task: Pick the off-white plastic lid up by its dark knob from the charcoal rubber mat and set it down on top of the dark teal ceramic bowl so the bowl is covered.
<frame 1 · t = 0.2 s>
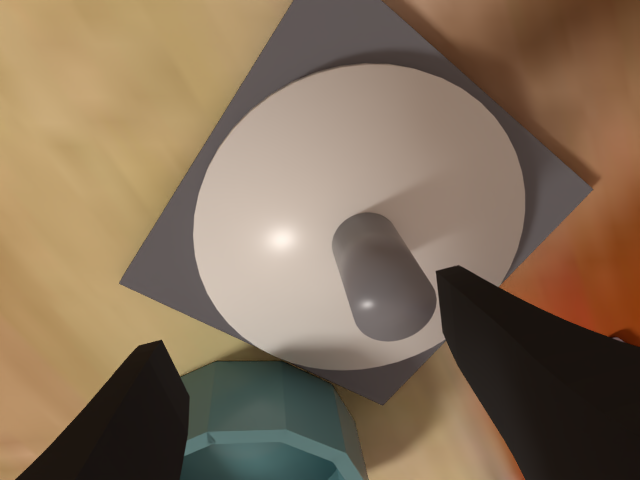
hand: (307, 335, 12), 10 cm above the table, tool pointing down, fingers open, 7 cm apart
bowl: (245, 445, 27), on the table
lid: (375, 266, 18), on the mat
mat: (359, 230, 21), on the table
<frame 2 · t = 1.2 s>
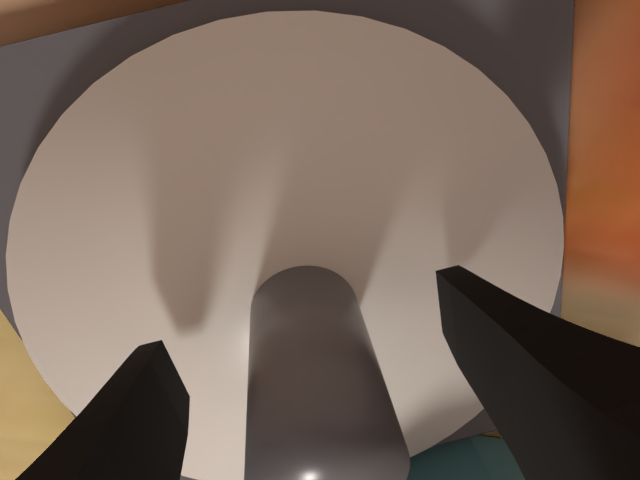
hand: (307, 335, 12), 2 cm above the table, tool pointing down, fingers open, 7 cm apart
lid: (312, 364, 11), on the mat
mat: (300, 287, 14), on the table
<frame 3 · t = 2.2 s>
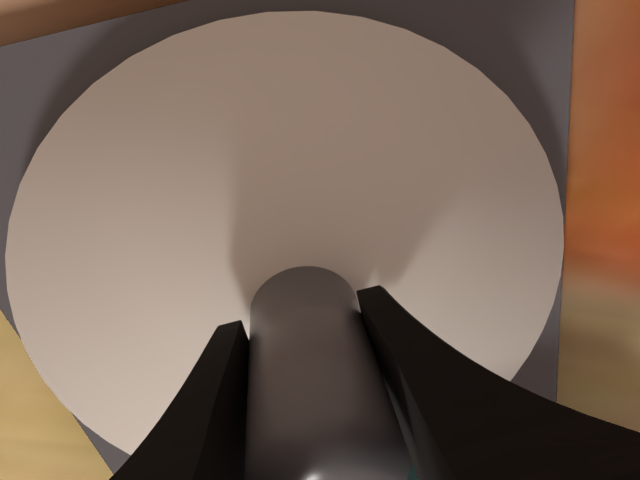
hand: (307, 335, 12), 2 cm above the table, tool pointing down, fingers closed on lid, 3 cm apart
lid: (312, 365, 11), on the mat, touching gripper
mat: (300, 287, 14), on the table
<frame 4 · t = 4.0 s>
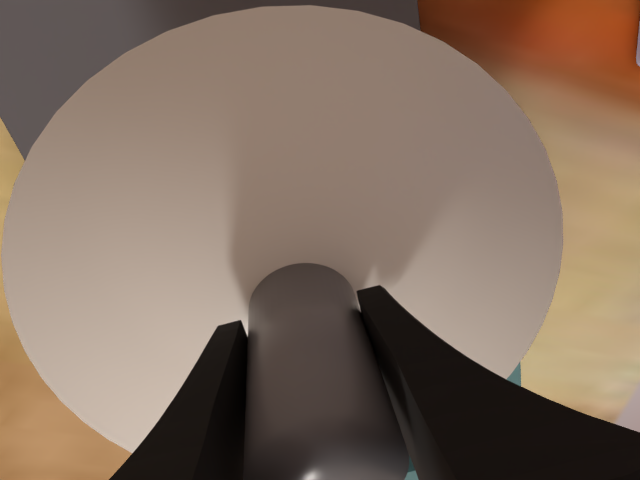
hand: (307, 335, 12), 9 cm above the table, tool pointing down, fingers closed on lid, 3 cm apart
bowl: (358, 331, 24), on the table
lid: (310, 362, 11), point 10 cm above the table, touching gripper
mat: (206, 47, 17), on the table
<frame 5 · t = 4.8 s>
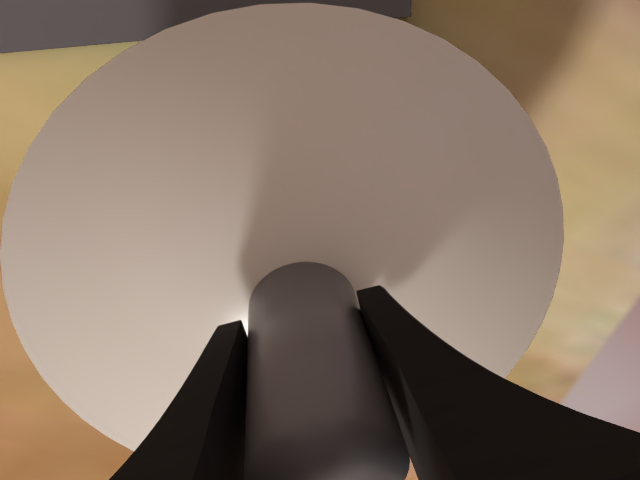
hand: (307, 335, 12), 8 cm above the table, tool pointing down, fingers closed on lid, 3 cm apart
lid: (311, 361, 11), point 9 cm above the table, touching gripper
when the fingers open (7 cm above the table, at t = 5.7 s): lid drops 1 cm, resting on bowl.
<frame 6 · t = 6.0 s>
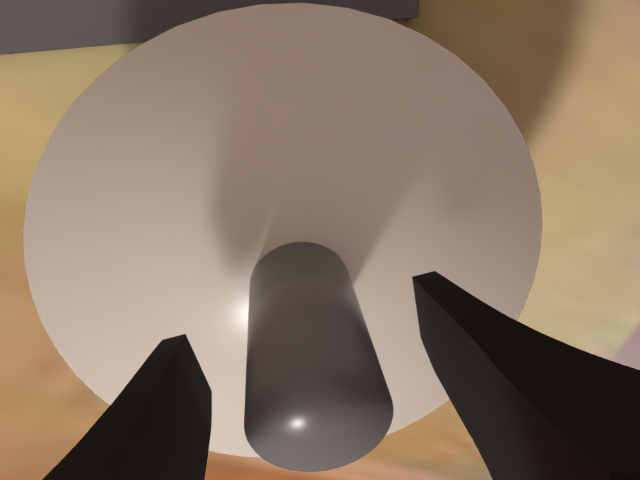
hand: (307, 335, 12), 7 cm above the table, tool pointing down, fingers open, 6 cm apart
lid: (306, 330, 11), on the bowl, point 7 cm above the table
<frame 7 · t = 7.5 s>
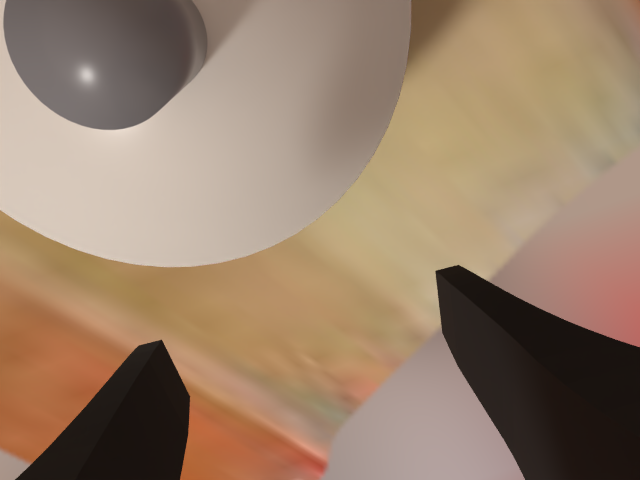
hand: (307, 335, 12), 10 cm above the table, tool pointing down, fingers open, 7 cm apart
lid: (134, 40, 11), on the bowl, point 7 cm above the table
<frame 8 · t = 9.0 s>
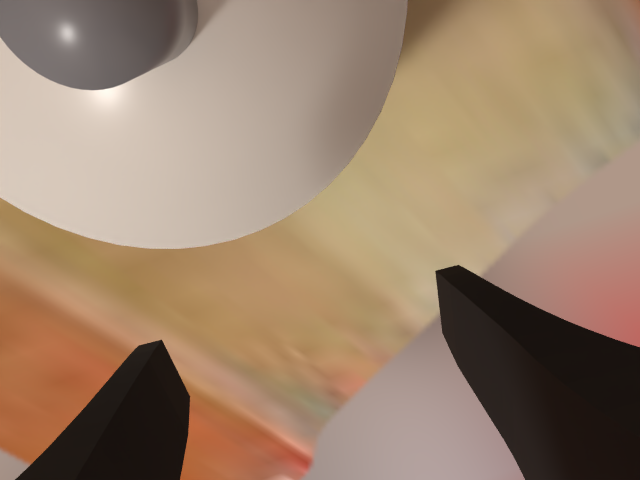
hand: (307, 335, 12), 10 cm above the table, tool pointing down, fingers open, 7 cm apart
lid: (120, 4, 10), on the bowl, point 7 cm above the table
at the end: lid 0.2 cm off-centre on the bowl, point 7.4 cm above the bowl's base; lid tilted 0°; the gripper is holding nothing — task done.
